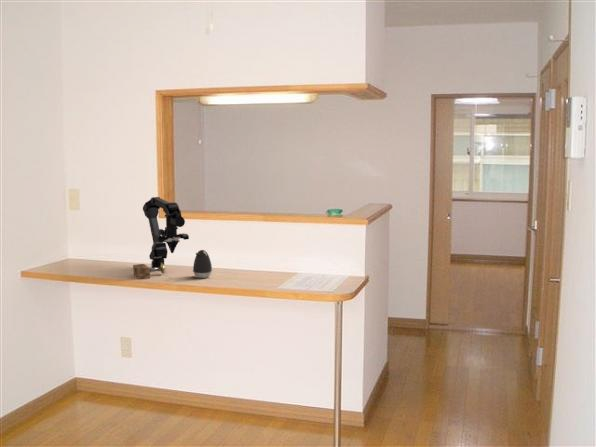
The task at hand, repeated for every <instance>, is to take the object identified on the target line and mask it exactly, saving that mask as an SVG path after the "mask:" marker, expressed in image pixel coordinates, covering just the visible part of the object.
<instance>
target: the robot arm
mask: <svg viewBox="0 0 596 447" xmlns="http://www.w3.org/2000/svg"><path fill="white" fill-rule="evenodd" d="M160 208H161V209H162V211H163V212H164V213H165V215H164V217H165V228H164V229H162V228H160V227H159V226H160V225H159V221H158V216H159V215H158V214H159V209H160ZM142 211H143V213H144V216H145V217H146V218H147V220H148V224H149V227H150V228H149V229H150V232H151V236H152V237H151V238H152V246H151V251H150V254H149V260H151V263H150V264H151V265H150V266H151V268H154V267H160V266H161V263H163V264H164V265H165V259H167V258H168V249H169V251H170V253H171V254H174V252H175V250H176V248H177V245H178V244H179V242H181V241H180V239H183V240H189V239H190V236H189V234H188V233H178V230H179V229H178V228H182V227H184V226H185V224H186V223H185V222H186V221H185V218H184V217H183V216H182V211H181V209H180V207H179V205H178V203H177V202H173V201H171V202H169V201H167V200H165V199H162V198H161V197H160V196H153V197H151V198H150V199H149V200H148V201H146V202H145V203H144V204H143V206H142ZM167 246H168V248H167Z"/></svg>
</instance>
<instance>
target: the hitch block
mask: <svg viewBox="0 0 596 447" xmlns="http://www.w3.org/2000/svg"><path fill="white" fill-rule="evenodd" d="M150 268H151V267H149V266H148V265H147V264H145V263H140V264H133V265H132V269H133V277H135V278H136V279H138V280H147V279H149V280H150V279H151V276H150V275H151V274H150V273H151V272H150Z"/></svg>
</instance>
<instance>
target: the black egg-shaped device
mask: <svg viewBox="0 0 596 447" xmlns="http://www.w3.org/2000/svg"><path fill="white" fill-rule="evenodd" d="M195 255H196V256H195V258H194V261H193V268H192V272H193V274H194V276H195V278H198V279H207V278H209V277H210V276H211V274H212V271H213V267H212V261H211V258H210V255H209V253H208V251H206V250H204V249H200V250H198V251H197V252H195Z"/></svg>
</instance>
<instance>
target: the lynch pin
mask: <svg viewBox="0 0 596 447" xmlns="http://www.w3.org/2000/svg"><path fill="white" fill-rule="evenodd" d="M165 270H166V268H165V263H164V264H163V263H161V266H160V267H154V268H152V267H150V273H153V272H160V273H161V274H165V272H166V271H165Z"/></svg>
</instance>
